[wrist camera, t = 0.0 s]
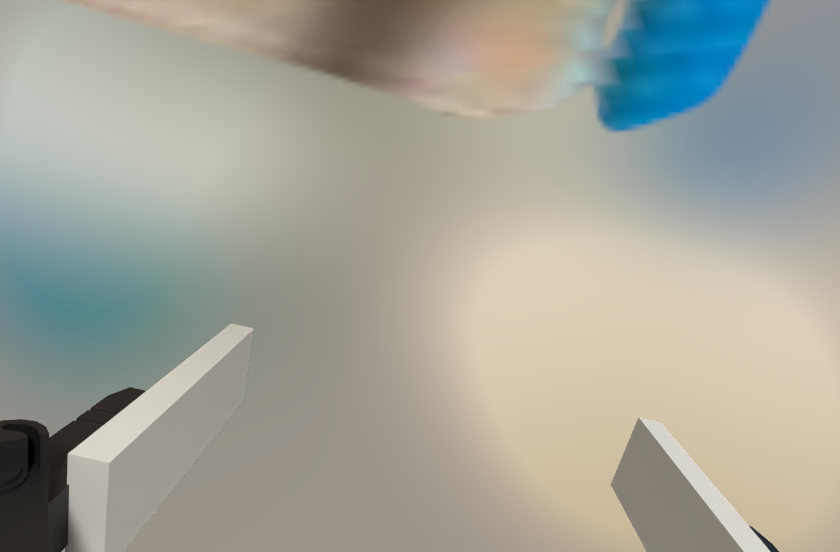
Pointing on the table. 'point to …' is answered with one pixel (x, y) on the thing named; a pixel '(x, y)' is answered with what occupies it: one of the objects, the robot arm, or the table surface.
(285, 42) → the table surface
